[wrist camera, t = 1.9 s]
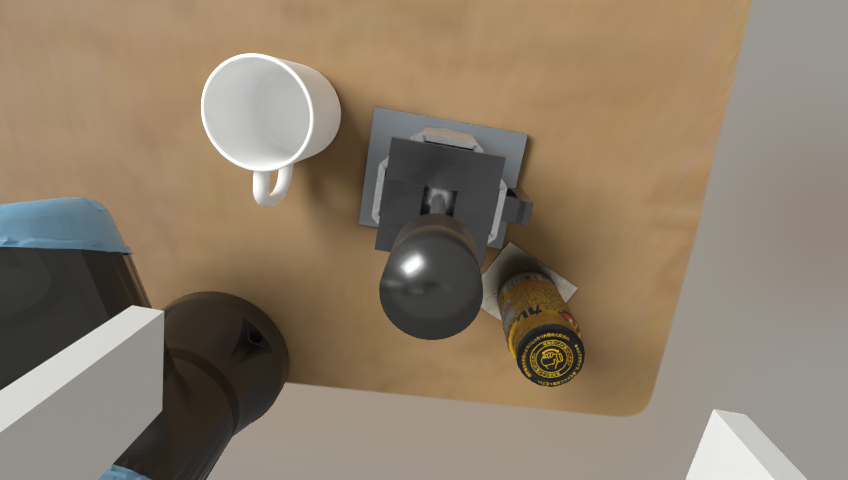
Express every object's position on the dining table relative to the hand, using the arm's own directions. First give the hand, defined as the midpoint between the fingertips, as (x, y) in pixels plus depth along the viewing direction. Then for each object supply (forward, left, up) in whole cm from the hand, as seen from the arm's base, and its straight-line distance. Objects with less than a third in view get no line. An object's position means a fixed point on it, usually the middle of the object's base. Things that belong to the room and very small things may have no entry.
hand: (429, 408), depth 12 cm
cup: (-14, +2, -36) cm, 39 cm away
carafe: (+1, 0, -35) cm, 35 cm away
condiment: (+10, -10, -36) cm, 39 cm away
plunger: (0, 0, -26) cm, 26 cm away
